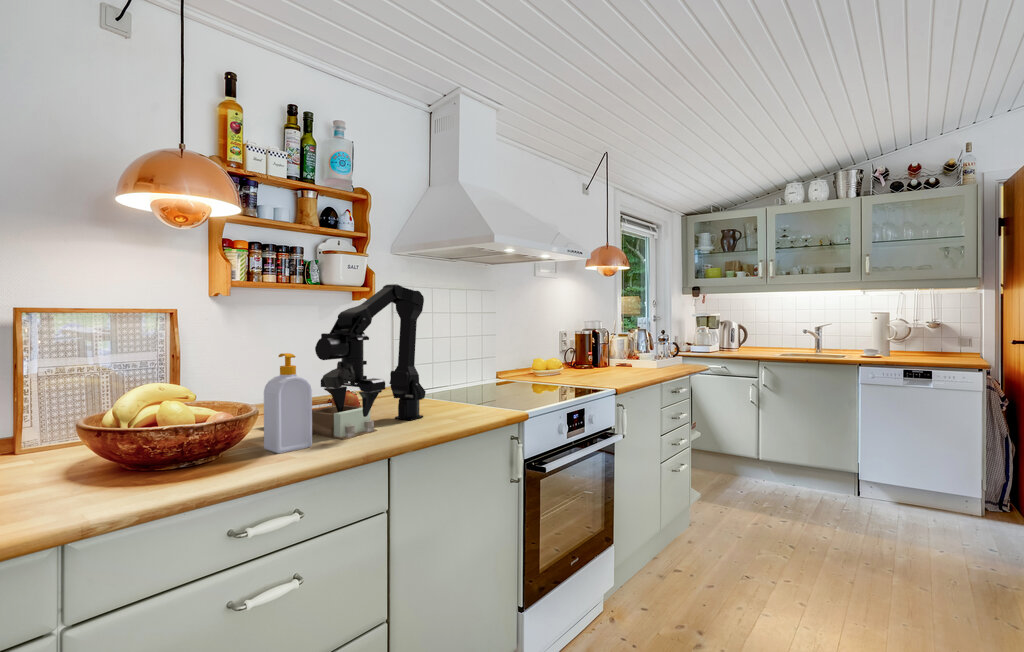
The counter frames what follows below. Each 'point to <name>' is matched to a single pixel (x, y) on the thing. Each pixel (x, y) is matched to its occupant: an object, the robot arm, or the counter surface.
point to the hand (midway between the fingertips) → (352, 414)
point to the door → (350, 421)
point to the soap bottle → (287, 410)
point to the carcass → (325, 423)
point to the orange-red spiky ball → (349, 400)
